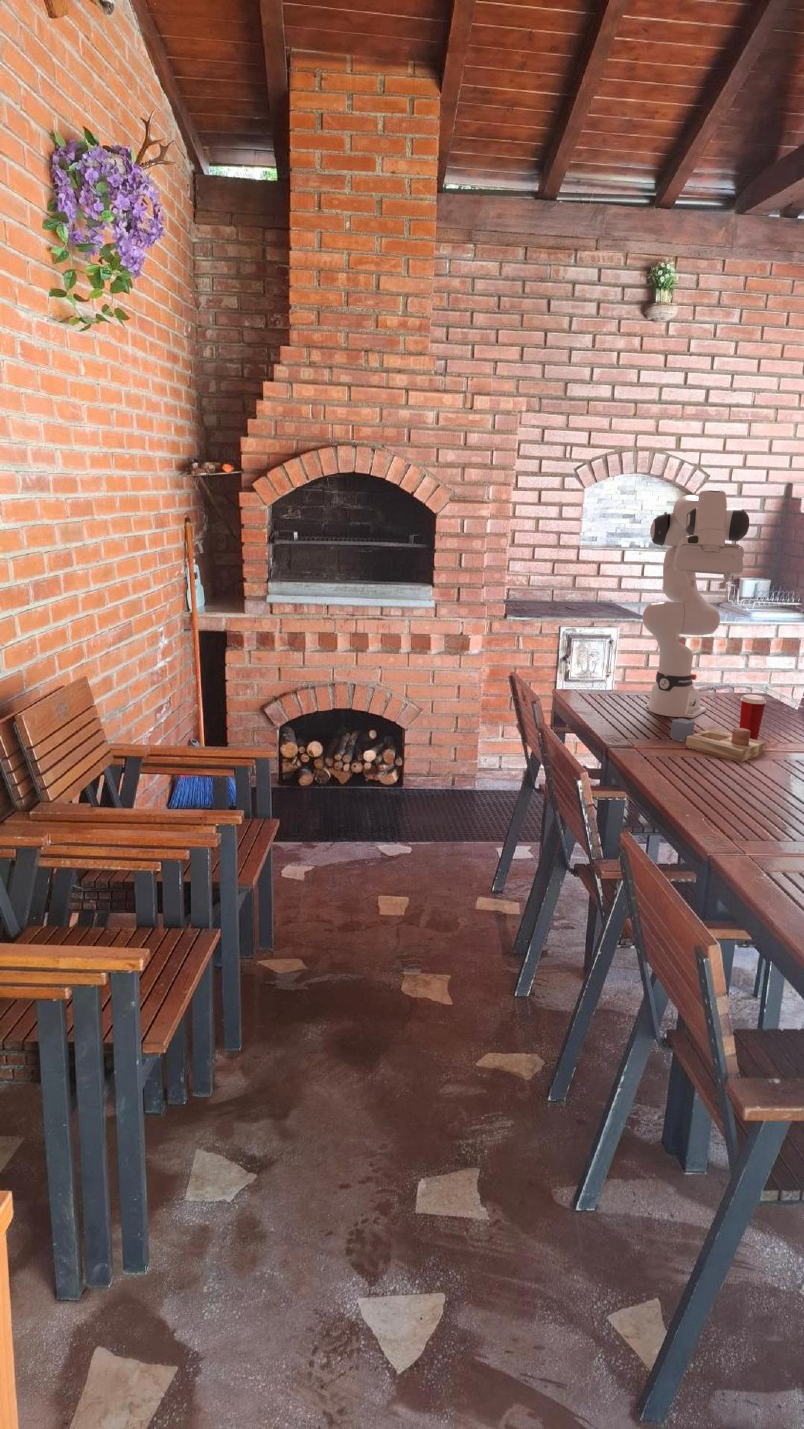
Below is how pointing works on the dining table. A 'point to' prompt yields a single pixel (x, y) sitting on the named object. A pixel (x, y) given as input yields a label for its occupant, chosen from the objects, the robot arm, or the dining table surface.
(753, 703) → the paper cup
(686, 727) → the slate block
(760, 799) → the dining table surface
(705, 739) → the assembly board
